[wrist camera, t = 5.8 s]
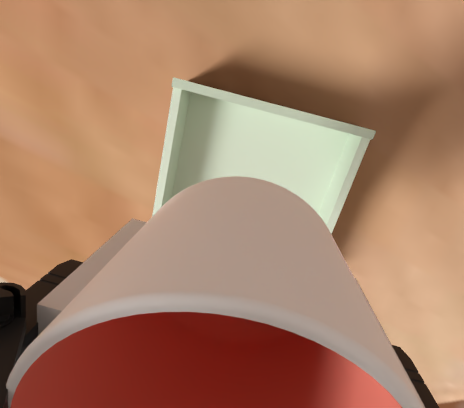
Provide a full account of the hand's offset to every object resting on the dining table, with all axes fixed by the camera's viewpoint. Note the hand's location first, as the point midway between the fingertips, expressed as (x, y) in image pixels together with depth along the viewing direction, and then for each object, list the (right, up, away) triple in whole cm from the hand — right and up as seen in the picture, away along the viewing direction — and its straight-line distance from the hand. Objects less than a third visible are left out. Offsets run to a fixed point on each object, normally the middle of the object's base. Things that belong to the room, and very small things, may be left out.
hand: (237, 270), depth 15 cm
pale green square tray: (+1, +5, +15) cm, 16 cm away
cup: (0, 0, +1) cm, 2 cm away
